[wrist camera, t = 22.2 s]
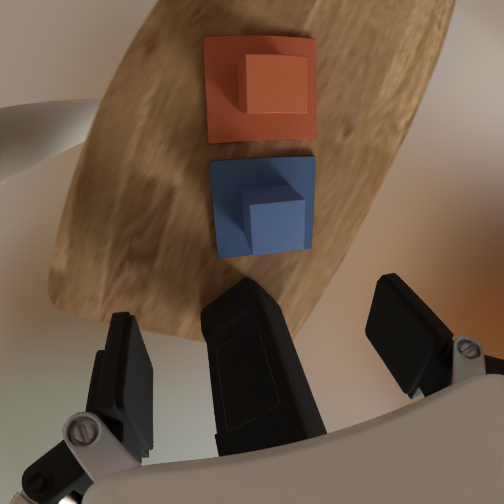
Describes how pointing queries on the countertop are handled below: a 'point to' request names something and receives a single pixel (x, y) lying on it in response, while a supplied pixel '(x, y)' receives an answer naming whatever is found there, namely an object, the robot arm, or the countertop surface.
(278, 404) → the tall black tower box
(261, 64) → the terracotta block
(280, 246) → the slate block
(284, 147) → the countertop surface
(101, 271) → the countertop surface
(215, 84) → the terracotta mat
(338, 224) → the countertop surface
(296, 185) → the slate mat
